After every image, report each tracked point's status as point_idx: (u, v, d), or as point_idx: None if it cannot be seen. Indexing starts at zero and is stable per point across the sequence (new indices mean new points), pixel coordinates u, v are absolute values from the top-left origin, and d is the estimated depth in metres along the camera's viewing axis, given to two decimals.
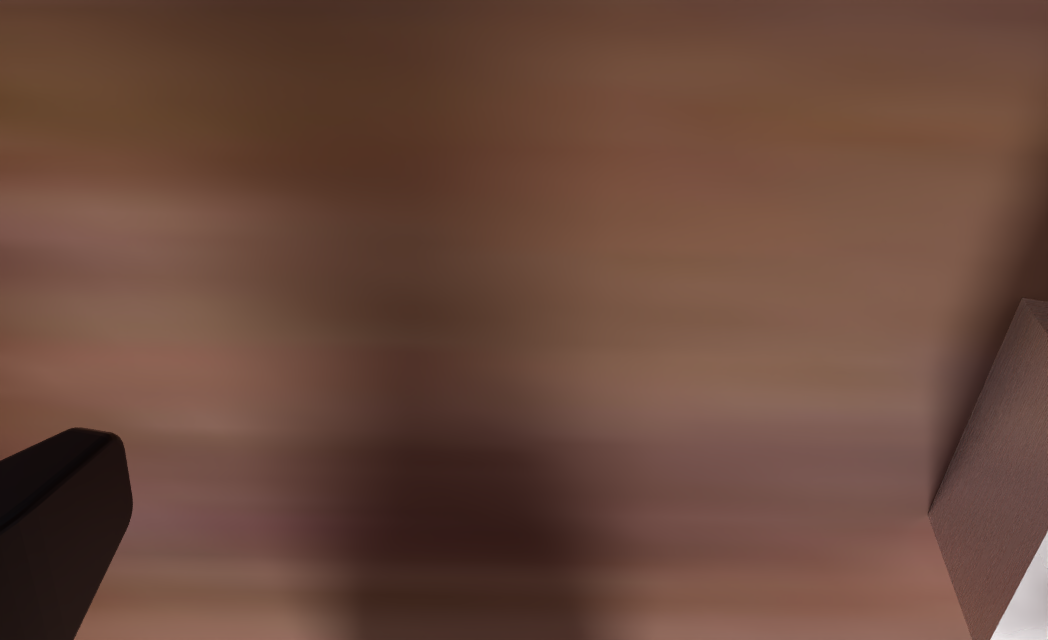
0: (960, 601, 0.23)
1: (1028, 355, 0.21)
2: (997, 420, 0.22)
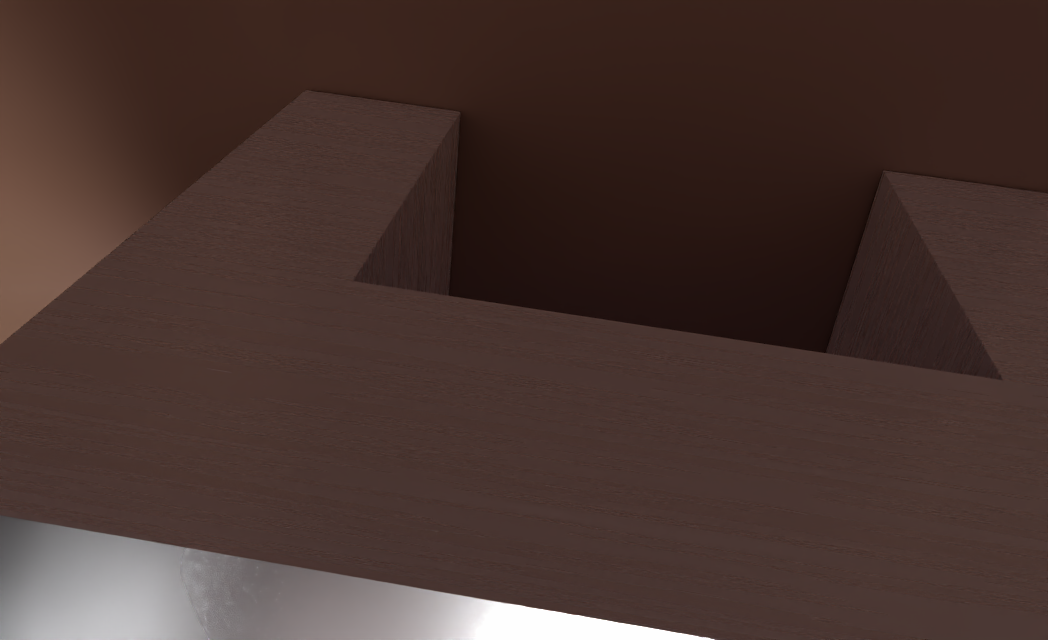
0: None
1: None
2: None
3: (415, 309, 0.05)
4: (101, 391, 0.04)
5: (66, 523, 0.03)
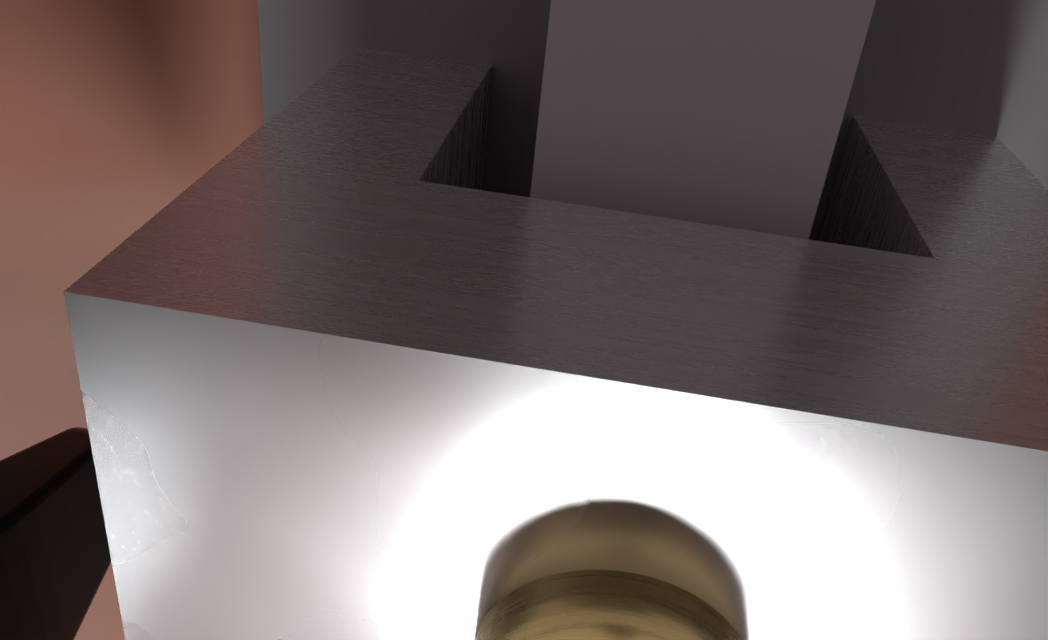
0: None
1: None
2: None
3: (470, 200, 0.06)
4: (240, 244, 0.05)
5: (235, 318, 0.04)
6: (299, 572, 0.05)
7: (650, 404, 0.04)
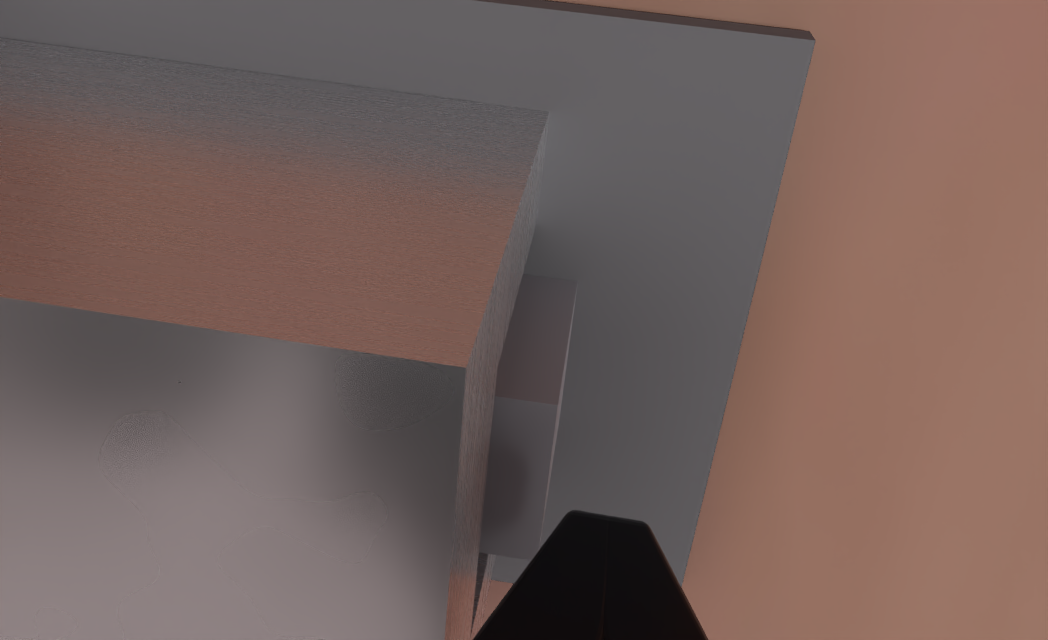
0: None
1: None
2: None
3: None
4: None
5: None
6: None
7: None
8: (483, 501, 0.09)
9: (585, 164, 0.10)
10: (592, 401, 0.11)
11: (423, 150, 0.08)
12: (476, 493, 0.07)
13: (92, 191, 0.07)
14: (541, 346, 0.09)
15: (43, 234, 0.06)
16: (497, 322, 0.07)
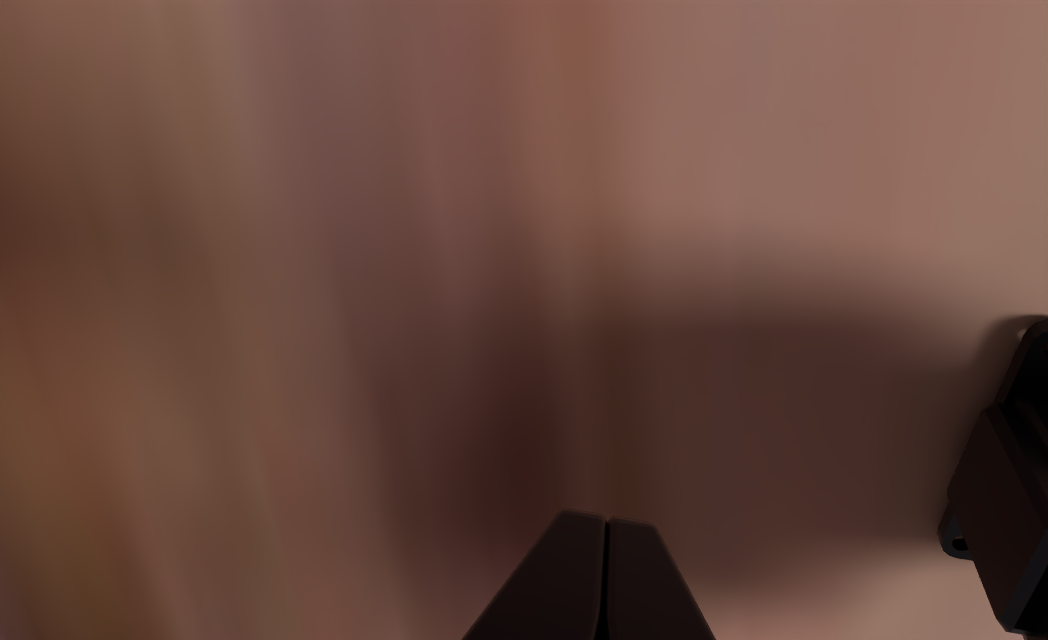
0: None
1: None
2: None
3: None
4: None
5: None
6: None
7: None
8: None
9: None
10: None
11: None
12: None
13: None
14: None
15: None
16: None
